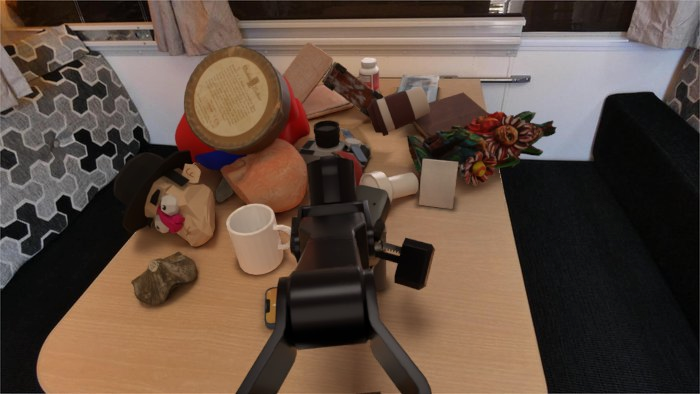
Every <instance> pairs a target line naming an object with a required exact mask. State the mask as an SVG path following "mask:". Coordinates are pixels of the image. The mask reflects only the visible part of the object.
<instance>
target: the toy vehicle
mask: <svg viewBox="0 0 700 394" xmlns="http://www.w3.org/2000/svg"><path fill="white" fill-rule="evenodd" d="M321 83H323V85H325V86H326V87H327V88H329V89H330V90H331V91H333V90H334V91H335V92H337V93H338V94H339V95H341V96H342V97H344V98H345V99H346V100H348V101H349V102H351V103H352V104H353V106H355V107H356V108H357V109H359V112H360V113H362V114H363V115H364V116H366V117H367V118H370V117H369V114H368V111H367V108H368V107H369V106H370V105H371V100H372V99H375V98H376V100H379V99H382V98H384V97H385V96H384V95H382V94H381V93H380V92H379V93H378V92H377V91H376V90H373V89H371V88H370V87H369V86H367V85H366V84H365V83H363V82H362V81H361V80H360V79H359V78H358V77H357V76H355V75H354V74H352V72H350V71H348V69H347V68H346V67H345V66H344V65H342V64H341V63H340V62H337V61H333V64H332V66H331V68H330V69H329V70H328V72H327V73H326V75H325V76H324V77H323V78H322V79H321Z"/></svg>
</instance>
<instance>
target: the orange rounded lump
mask: <svg viewBox="0 0 700 394" xmlns="http://www.w3.org/2000/svg"><path fill="white" fill-rule="evenodd" d="M219 172H220V173H221V175H222V176H223V177H224V178H225V179H226V181H227V182H228V183H229V185H230V186H231V188H232V189H233V190H234V191H235V192H234V193H235V194H236V195H237V196H238V197H239V198H240V200H242V202H244V203H245V204H246V205H249V204H263V205H266V206H269V207H270V208H271V209H272V210H273V212H274V213H282V212H286V211H289V210H292V209H294V208H295V207H298V206H299V205H300V204H301V203H302V201H303V199H304V197H305V195H306V192H307V191H308V180H307V167H306V163H305V161H304V159H303V158H302V156H301V155H300V154H299V152H298V149H297V148H296V147H294V145H291V144H289V142H287V141H285V140H282V139H279V138H277V139H276V140H275V141H274V142H273V143H272V144H270V145H269V146H268V147H266V148H265V149H263V150H261V151H259V152H256V153H253V154H248V155H247V156H245V157H242V158H239V159H237V160H236V161H235V162H234V163H232V164H230V165H226V166H224V167H223V168H221V170H220V171H219Z"/></svg>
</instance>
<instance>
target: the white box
mask: <svg viewBox="0 0 700 394" xmlns="http://www.w3.org/2000/svg"><path fill="white" fill-rule="evenodd" d="M457 170H458V162H453V161H443V160H432V159H423V161H422V172H421V180H420V183H419V199H418V200H419V201H418V205H419V206H425V207H434V208H441V209H442V208H443V209H450V210H453V209H454V200H455V193H456V187H457V186H456V185H457V178H458V171H457Z"/></svg>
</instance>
